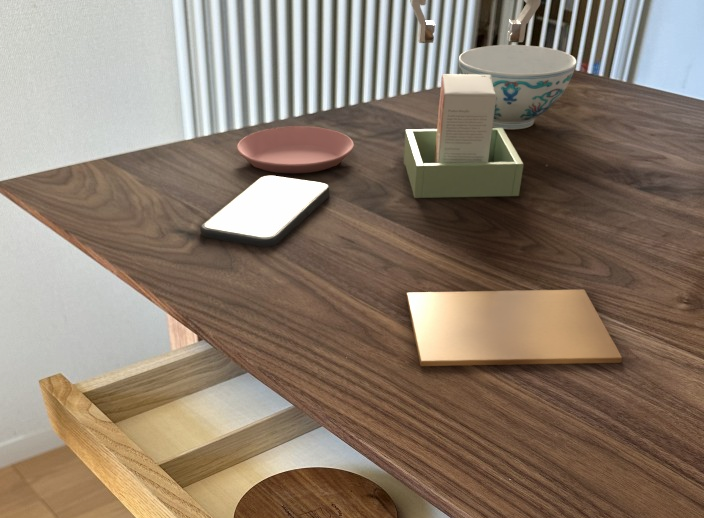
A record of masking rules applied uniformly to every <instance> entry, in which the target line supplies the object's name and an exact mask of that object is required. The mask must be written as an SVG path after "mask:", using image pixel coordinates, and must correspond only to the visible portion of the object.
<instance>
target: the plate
mask: <svg viewBox="0 0 704 518" xmlns="http://www.w3.org/2000/svg"><path fill="white" fill-rule="evenodd" d="M354 145H355V144H354V141H353V140H352V139H351V137H350V136H348V135H347V134H345V133H343V132H340V131H337V130H333V129H329V128H324V127H318V126H317V127H316V126H305V125H304V126H303V125H301V126H300V125H299V126H297V125H294V126H279V127H272V128H267V129H263V130H259V131H255V132H252V133H250V134H248V135H246V136H244V137H243V138H241V139H240V140H239V141H238V143H237V146H236V150H237V152H238V153H239V155H240V156H242V158H244V159H245V161H247V162H248V163H250V164H251V165H252V166H253V167H254V168H255V169H256V168H258V169H259V170H263V171H267V172H272V173H277V174H307V173H316V172H319V171H320V172H321V171H324V170H328V169H331V168H334V167H337V166H338V165H339V164H340V163H341V162H342V161H343V160H344V159H345V158H346V157H348V156H349V154H351V152H352V151H353V150H354V147H355V146H354Z"/></svg>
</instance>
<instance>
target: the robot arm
mask: <svg viewBox="0 0 704 518" xmlns="http://www.w3.org/2000/svg"><path fill="white" fill-rule="evenodd" d="M523 1H524V2H525V6H524V7H523V9H522V10H521V12H520V14H519V15H518V16H517V19H509V21H508V25H507V29H508V31H507V32H506V33H507V34H506V40H507V42H508V43H524V40H525V35H526V34H525V33H526V29H527V24H528V23H529V22H530V21H531V19H532V18H533V17H534V15H535V13H536V12H537V10H538V9H539V7H540V6H541V2H542V0H523ZM409 3H410V5H411V8H412V10H413V12H414V14H415V18H416V20H417V21H418V30H417V31H418V32H417V40H418V43H419V44H433V43H434V40H435V35H434V33H435V30H436V24H435V22H434V20H427V19H426V17H425V15H424V13H423V9H422V8H421V6H426V4H427V0H410V1H409Z"/></svg>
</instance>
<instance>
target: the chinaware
mask: <svg viewBox="0 0 704 518" xmlns="http://www.w3.org/2000/svg"><path fill="white" fill-rule="evenodd" d="M577 61H578V60H577V59H576V57H575V56H573V55H571V54H570V53H567V52H565V51H562V50H559V49H555V48H550V47H545V46H538V45H537V46H536V45H527V44H525V45H523V44H497V45H496V44H495V45H487V46H481V47H475V48H471V49H468V50H466V51H464V52H462V53H461V54H460V55H459V57H458V68H459V74H478V75H491V79H492V84H493V87H494V91H495V93H496V104H495V112H494V119H493V127H492V128H503V129H504V130H523V129H527V128H530V127H532V126H533V125H534V123H535V119H536V118H537V117H539V116H540V115H542V114H544V113H546V112H547V111H548V110H549V109H551V108H552V107H553V106H554V105H555V104H556V102H558V100H559V99H560V98H561V97H562V95H563V94H564V92H565V91H566V89H567V87H568V86H569V83H570V81H571V79H572V78H573V75H574V72H575V70H576V67H577Z"/></svg>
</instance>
